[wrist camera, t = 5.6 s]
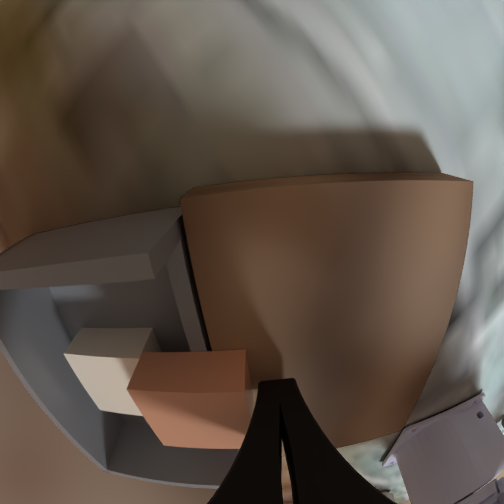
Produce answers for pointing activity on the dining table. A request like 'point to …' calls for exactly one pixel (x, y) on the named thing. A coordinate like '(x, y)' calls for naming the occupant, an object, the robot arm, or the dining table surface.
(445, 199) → the walnut plate
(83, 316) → the box
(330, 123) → the dining table surface
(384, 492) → the supplement can
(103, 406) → the tile cream
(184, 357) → the tile terracotta
